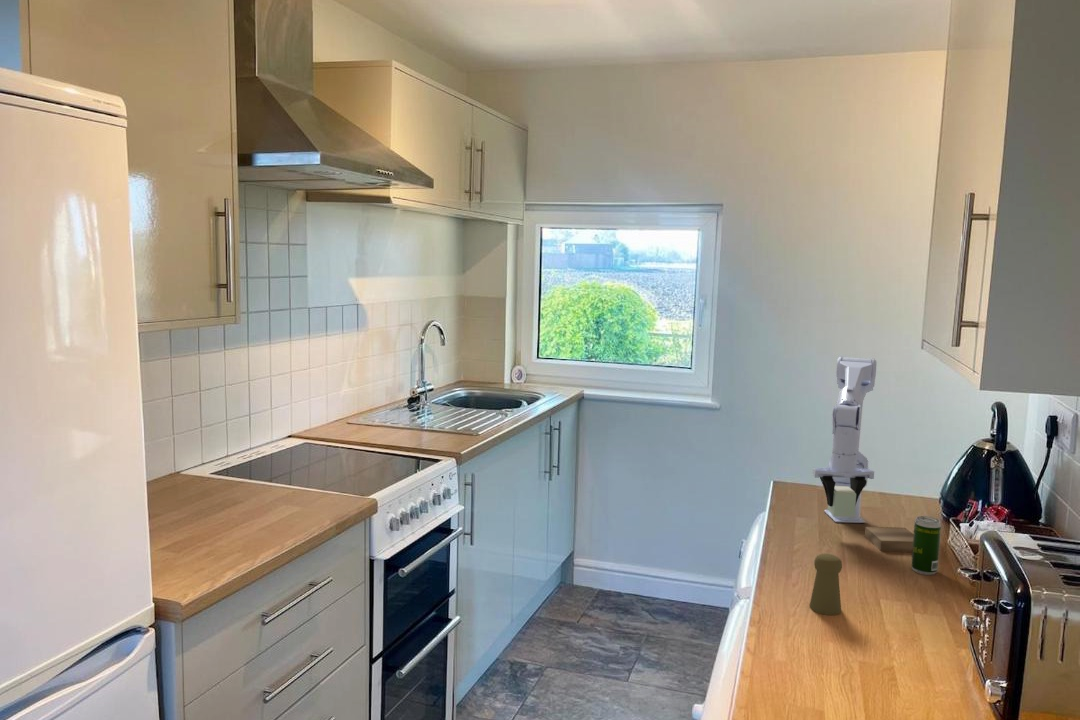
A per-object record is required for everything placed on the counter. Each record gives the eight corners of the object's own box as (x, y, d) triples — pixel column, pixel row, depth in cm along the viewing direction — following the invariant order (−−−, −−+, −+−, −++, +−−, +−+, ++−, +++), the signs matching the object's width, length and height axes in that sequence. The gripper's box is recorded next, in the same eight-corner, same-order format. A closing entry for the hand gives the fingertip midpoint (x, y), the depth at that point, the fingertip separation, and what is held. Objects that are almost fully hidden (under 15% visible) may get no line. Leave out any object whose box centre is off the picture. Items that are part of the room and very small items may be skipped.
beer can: (941, 571, 177) (945, 520, 175) (930, 577, 173) (934, 525, 172) (917, 564, 181) (921, 514, 179) (906, 570, 177) (910, 518, 176)
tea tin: (827, 509, 199) (829, 485, 198) (847, 510, 199) (849, 486, 198) (834, 516, 194) (835, 491, 194) (854, 517, 194) (856, 492, 193)
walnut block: (864, 538, 199) (865, 526, 199) (904, 539, 199) (905, 527, 198) (880, 552, 189) (881, 540, 189) (922, 553, 189) (923, 541, 188)
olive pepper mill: (826, 617, 153) (829, 563, 152) (802, 605, 158) (805, 553, 157) (848, 611, 156) (851, 558, 154) (824, 599, 161) (827, 548, 160)
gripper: (820, 455, 191) (816, 509, 193) (880, 457, 191) (876, 511, 192) (811, 449, 198) (808, 501, 200) (869, 450, 198) (865, 502, 199)
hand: (841, 505), depth 197 cm, fingers closed on tea tin, 5 cm apart
